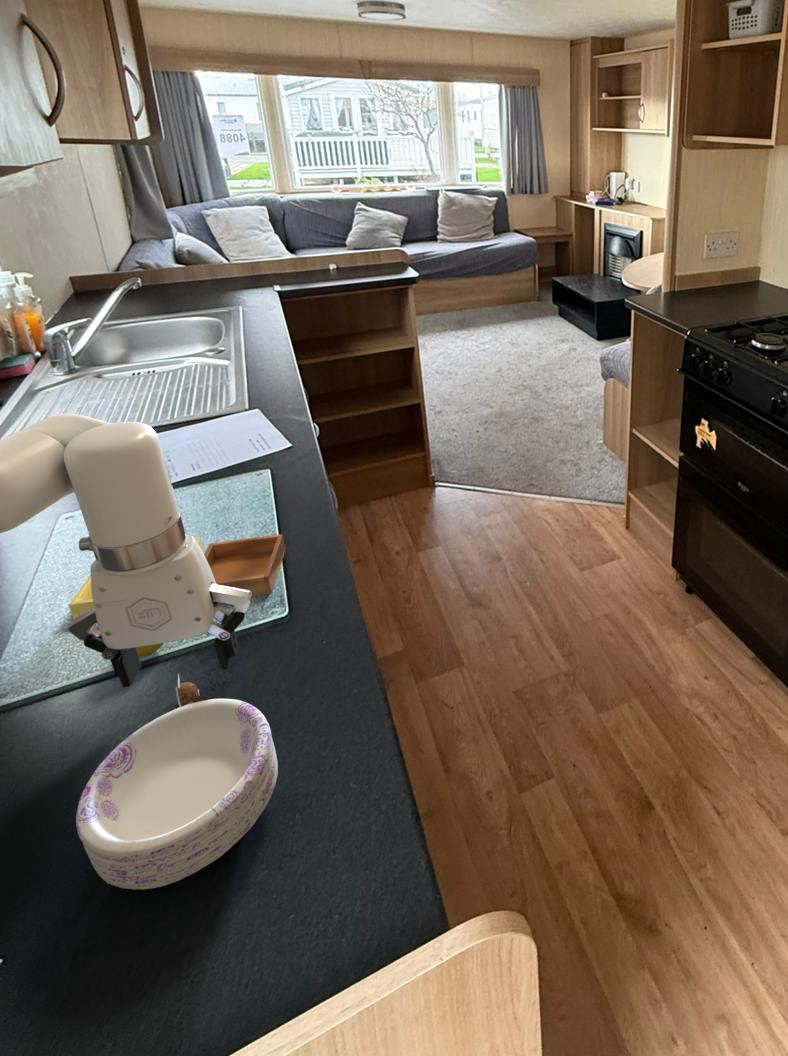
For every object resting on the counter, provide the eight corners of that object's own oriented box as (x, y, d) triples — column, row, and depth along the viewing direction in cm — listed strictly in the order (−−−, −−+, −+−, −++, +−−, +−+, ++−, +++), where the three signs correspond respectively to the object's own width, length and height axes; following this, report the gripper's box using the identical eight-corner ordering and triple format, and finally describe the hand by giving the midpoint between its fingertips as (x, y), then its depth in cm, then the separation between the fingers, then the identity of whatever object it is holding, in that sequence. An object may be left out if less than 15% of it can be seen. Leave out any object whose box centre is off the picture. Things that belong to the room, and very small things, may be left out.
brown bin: (191, 605, 89) (186, 588, 88) (213, 559, 99) (209, 543, 98) (271, 593, 92) (268, 576, 91) (285, 550, 101) (282, 533, 100)
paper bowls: (99, 803, 64) (76, 745, 61) (268, 726, 72) (255, 671, 69) (97, 957, 52) (69, 894, 49) (299, 844, 60) (284, 784, 57)
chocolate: (201, 710, 74) (193, 683, 72) (178, 718, 73) (170, 692, 71) (201, 691, 76) (193, 665, 75) (179, 699, 75) (171, 673, 74)
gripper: (22, 578, 61) (76, 712, 67) (224, 549, 65) (257, 679, 71) (62, 531, 68) (108, 658, 74) (243, 508, 72) (272, 630, 78)
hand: (181, 668), depth 72 cm, fingers open, 9 cm apart
